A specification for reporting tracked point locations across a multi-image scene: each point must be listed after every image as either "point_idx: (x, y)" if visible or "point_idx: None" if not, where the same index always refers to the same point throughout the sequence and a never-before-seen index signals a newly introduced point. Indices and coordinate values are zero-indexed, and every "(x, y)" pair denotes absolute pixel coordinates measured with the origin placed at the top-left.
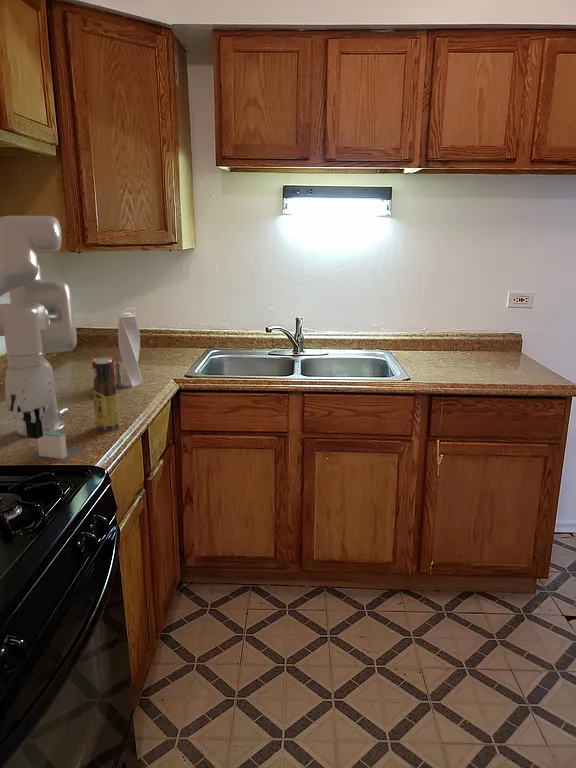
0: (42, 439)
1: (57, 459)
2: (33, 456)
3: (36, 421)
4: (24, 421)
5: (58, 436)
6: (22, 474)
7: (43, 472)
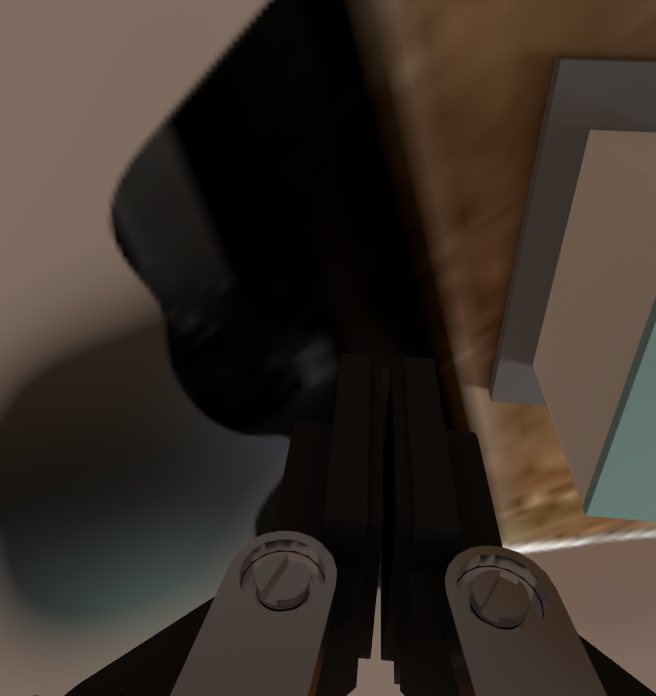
0: (631, 263)
1: (518, 337)
2: (562, 85)
3: (396, 633)
4: (241, 569)
5: (586, 494)
6: (235, 226)
7: (316, 342)
